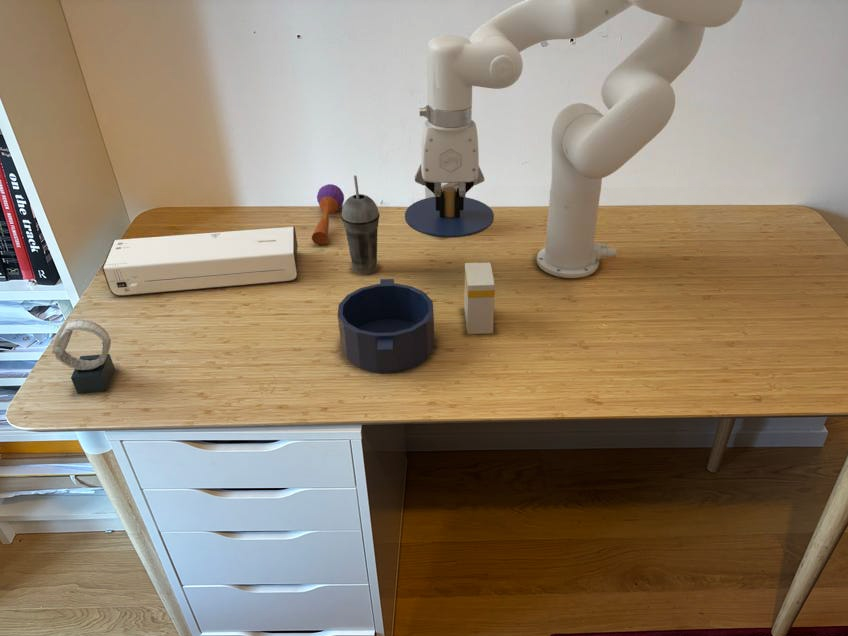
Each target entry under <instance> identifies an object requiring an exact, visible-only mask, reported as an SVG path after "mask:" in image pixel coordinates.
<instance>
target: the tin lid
mask: <svg viewBox="0 0 848 636" xmlns="http://www.w3.org/2000/svg"><path fill="white" fill-rule="evenodd" d="M443 196H444V216H443V217H440V213H439V211H436V197H430V198H422V199H419V200H417V201H415V202H413V203H412V204H411V205H409V206H408V207H407V208H406V210H405V212H404V219H405V223H406V224H407V225H408V226H409V227H410V228H411V229H412V230H414V231H416V232H418V233H421V234H423V235H427V236H431V237H435V238H445V239H449V238H450V239H451V238H452V239H453V238H454V239H455V238H464V237H471V236H474V235H478V234H480V233H482V232H484V231H486V230H487V229H489V228H490V227H491V226H492V224H494V221H495V213H494V211H493V209H492V208H491V207H490V206H489V205H487V204H486V203H485V202H482V201H480V200H477V199H475V198H471V197H467V196H465V197H464V210H460V217H457V216H456V188H454V187H445V188H443Z"/></svg>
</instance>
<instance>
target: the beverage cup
mask: <svg viewBox="0 0 848 636" xmlns="http://www.w3.org/2000/svg"><path fill="white" fill-rule="evenodd" d="M353 181H354V189H355V194H353V195H351V196H349V197H348V198H347V199H346V200H344V202H343V205H342V207H341V208H342V209H341V216H340V218H341V221H342V224H343V227H344V230H345V235H346V240H347V244H348V245H347V246H348V249H349V255H350V260H351V264H352V268H353V271H354V273H356V274H359V275H371V274H373V273H374V272H376V270H377V262H378V228H379V222H380V218H381V217H380V212H379V208H378V205H377V203H376V202H375V200H373V199H372V198H371V197H370V196H368V195H366V194H362V193H360V192H359V185H358V178H357V175H354V176H353Z"/></svg>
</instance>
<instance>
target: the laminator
mask: <svg viewBox="0 0 848 636" xmlns="http://www.w3.org/2000/svg"><path fill="white" fill-rule="evenodd" d="M298 247H299V246H298V239H297V232H296V227H295V226H285V227H284V226H283V227H272V228H271V227H269V228H258V229H243V230H232V231H218V232H217V231H216V232H205V233H204V232H203V233H193V234H192V233H190V234H179V235H177V234H176V235H164V236H163V235H162V236H152V237H151V236H150V237H149V236H148V237H137V238H125V239H113V240H112V243H111V245H110V247H109V250H108V253H107V255H106V258H105V260H104V262H103V265H102V267H101V268H102V273H103V276H104V278H105V281H106V285H107V287H108V290H109V291H110V294H112V295H113V296H116V297H129V296H131V297H132V296H141V295H155V294H165V293H176V292H185V291H186V292H188V291H198V290H199V291H200V290H209V289H211V290H212V289H220V288H221V289H223V288H232V287H233V288H234V287H245V286H256V285H257V286H258V285H267V284H276V283H277V284H279V283H290V282H293V281H296V280H297V279H298V276H299V275H298V274H299V270H298Z"/></svg>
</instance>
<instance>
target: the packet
mask: <svg viewBox="0 0 848 636" xmlns="http://www.w3.org/2000/svg"><path fill="white" fill-rule="evenodd" d="M492 269H493V268H492V264H491V262H465V263H464V317H465V325H466V332H467V335H477V334H478V335H482V334H494V318H495V316H494V315H495V294H496V293H495V292H496V291H495V290H496V289H495V288H496V284H495V279H494V274H493V270H492Z"/></svg>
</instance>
